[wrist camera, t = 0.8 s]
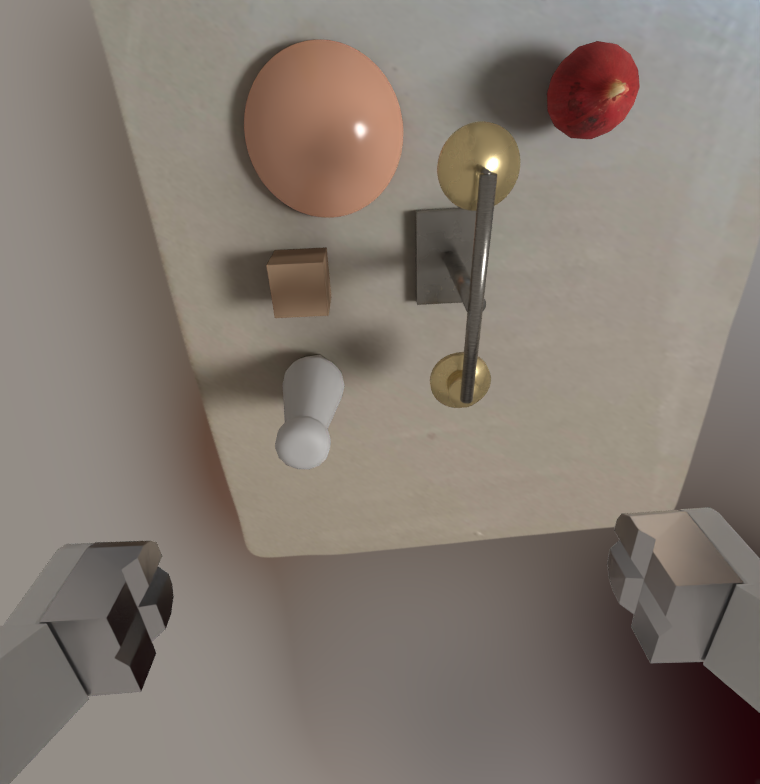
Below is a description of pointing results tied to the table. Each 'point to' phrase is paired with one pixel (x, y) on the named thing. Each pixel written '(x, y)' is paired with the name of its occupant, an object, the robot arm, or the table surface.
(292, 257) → the block
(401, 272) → the table surface
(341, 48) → the dish
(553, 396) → the table surface
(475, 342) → the balance
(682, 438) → the table surface
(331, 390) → the salt shaker
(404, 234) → the table surface
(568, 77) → the onion
